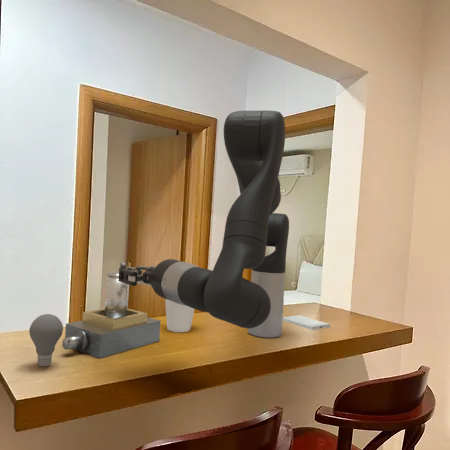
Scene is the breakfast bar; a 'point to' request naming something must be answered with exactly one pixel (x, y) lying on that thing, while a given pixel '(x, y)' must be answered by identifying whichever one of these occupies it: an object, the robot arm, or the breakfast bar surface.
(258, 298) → the robot arm
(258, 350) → the breakfast bar surface
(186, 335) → the breakfast bar surface
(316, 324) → the hard drive
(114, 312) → the spout can
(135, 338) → the gearbox
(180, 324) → the foam cup
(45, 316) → the light bulb
